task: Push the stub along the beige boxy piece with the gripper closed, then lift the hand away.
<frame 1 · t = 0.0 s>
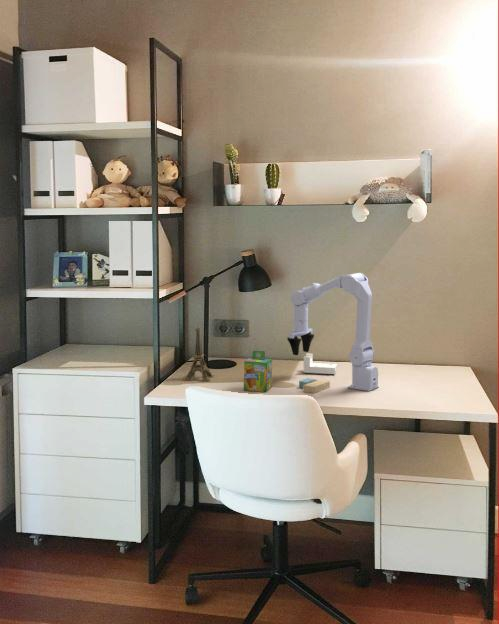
hand: (300, 353, 312), 10 cm above the table, fingers open, 7 cm apart
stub: (307, 383, 298), point 1 cm above the table, slide at 0.0 cm
beige boxy piece: (316, 389, 294), on the table
chalk box: (258, 389, 296), on the table
eiffel tower: (198, 379, 313), on the table
bracket: (320, 374, 322), on the table
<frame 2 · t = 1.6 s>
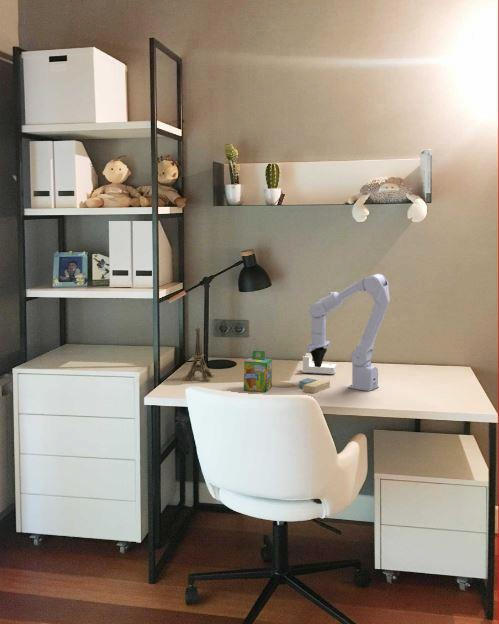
hand: (317, 366, 303), 7 cm above the table, fingers closed
nothing on the table moved.
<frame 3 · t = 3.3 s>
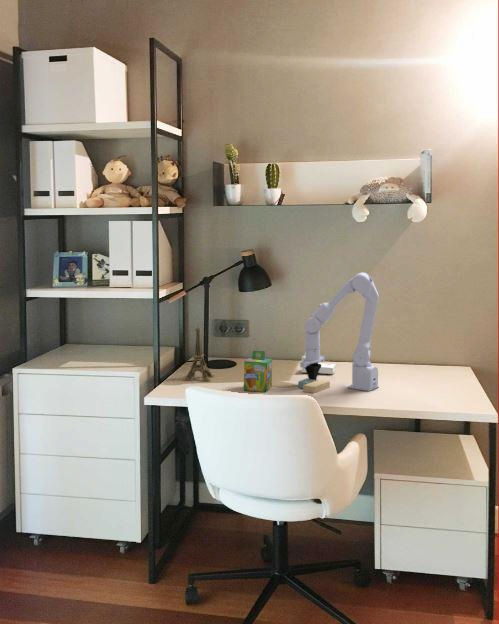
hand: (312, 382, 301), 1 cm above the table, fingers closed
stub: (306, 383, 298), point 1 cm above the table, slide at 0.6 cm, touching gripper
everything else where it was.
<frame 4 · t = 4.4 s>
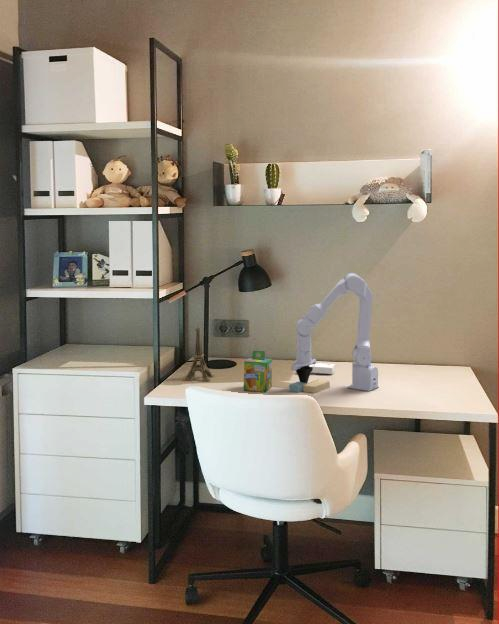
hand: (303, 385, 296), 1 cm above the table, fingers closed
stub: (297, 386, 293), point 1 cm above the table, slide at 6.8 cm, touching gripper
everything else where it was.
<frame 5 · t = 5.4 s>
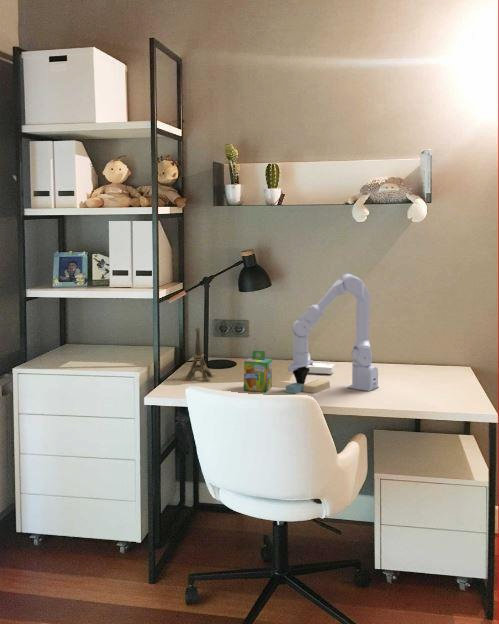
hand: (300, 386, 294), 1 cm above the table, fingers closed
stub: (294, 387, 291), point 1 cm above the table, slide at 9.0 cm, touching gripper
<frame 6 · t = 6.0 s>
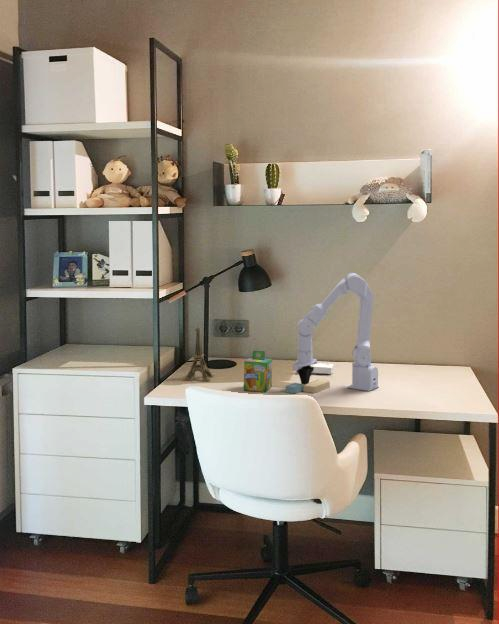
hand: (304, 385, 297), 1 cm above the table, fingers closed
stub: (294, 387, 291), point 1 cm above the table, slide at 9.0 cm
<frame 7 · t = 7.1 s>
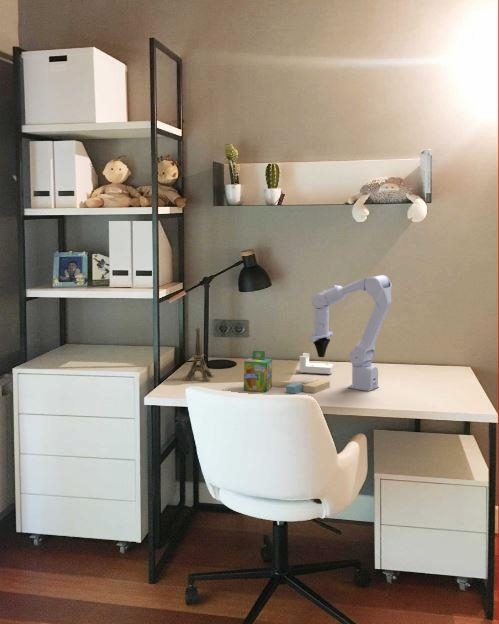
hand: (321, 356, 306), 10 cm above the table, fingers closed
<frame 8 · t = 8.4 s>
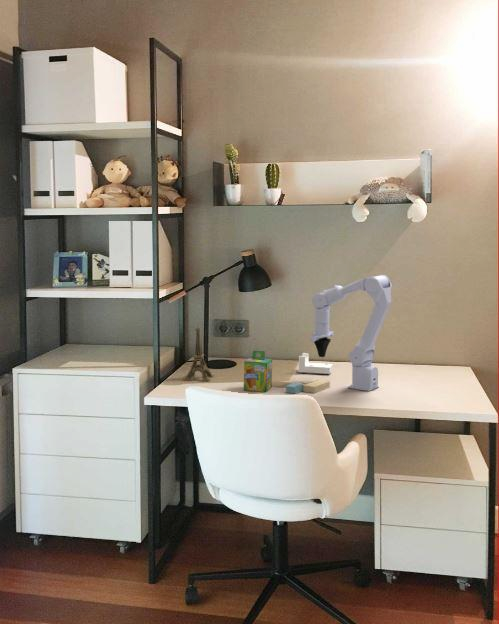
hand: (321, 356, 306), 10 cm above the table, fingers closed
at the end: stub slide at 9.0 cm; the gripper is holding nothing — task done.
